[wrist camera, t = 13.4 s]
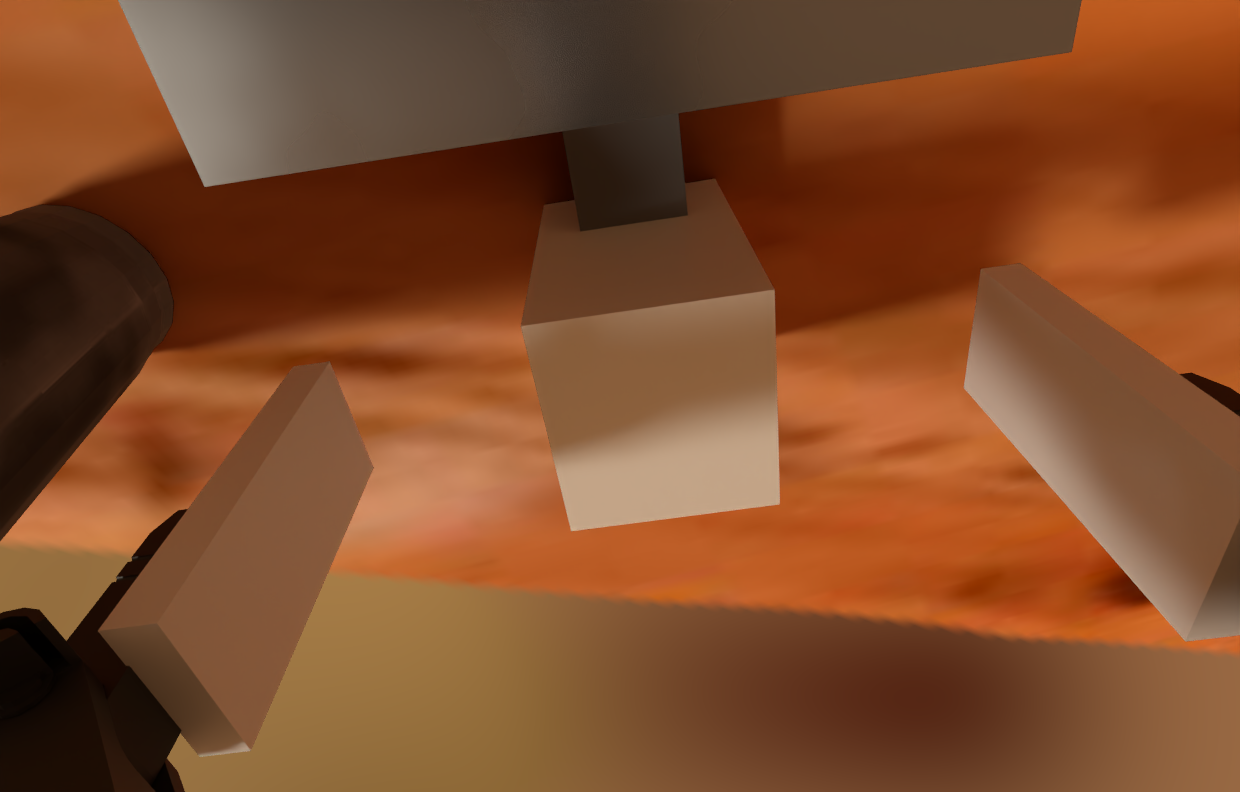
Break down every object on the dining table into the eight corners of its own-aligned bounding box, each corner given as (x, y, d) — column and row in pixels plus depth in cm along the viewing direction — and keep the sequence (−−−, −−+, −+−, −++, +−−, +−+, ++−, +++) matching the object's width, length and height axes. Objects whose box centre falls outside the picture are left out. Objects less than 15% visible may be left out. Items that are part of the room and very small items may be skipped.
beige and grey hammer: (419, -404, 12) (261, -730, 6) (672, -454, 12) (747, -838, 6) (577, 367, 21) (571, 531, 15) (726, 346, 21) (779, 504, 15)
